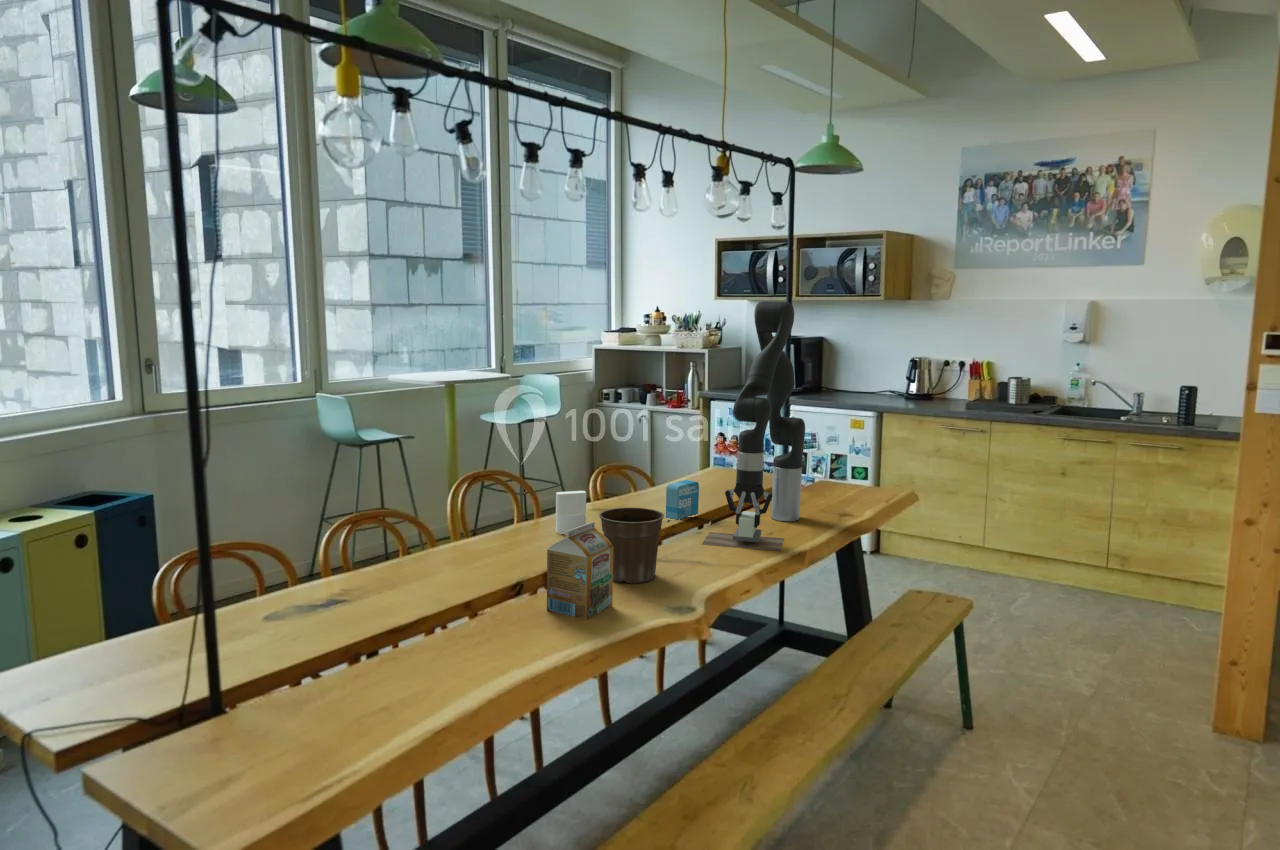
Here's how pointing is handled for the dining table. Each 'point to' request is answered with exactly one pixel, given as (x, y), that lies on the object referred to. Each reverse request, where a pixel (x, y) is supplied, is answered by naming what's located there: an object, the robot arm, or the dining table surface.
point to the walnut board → (743, 542)
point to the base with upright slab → (570, 510)
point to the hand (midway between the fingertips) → (747, 526)
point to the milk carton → (580, 573)
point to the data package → (682, 499)
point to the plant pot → (633, 542)
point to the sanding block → (747, 528)
